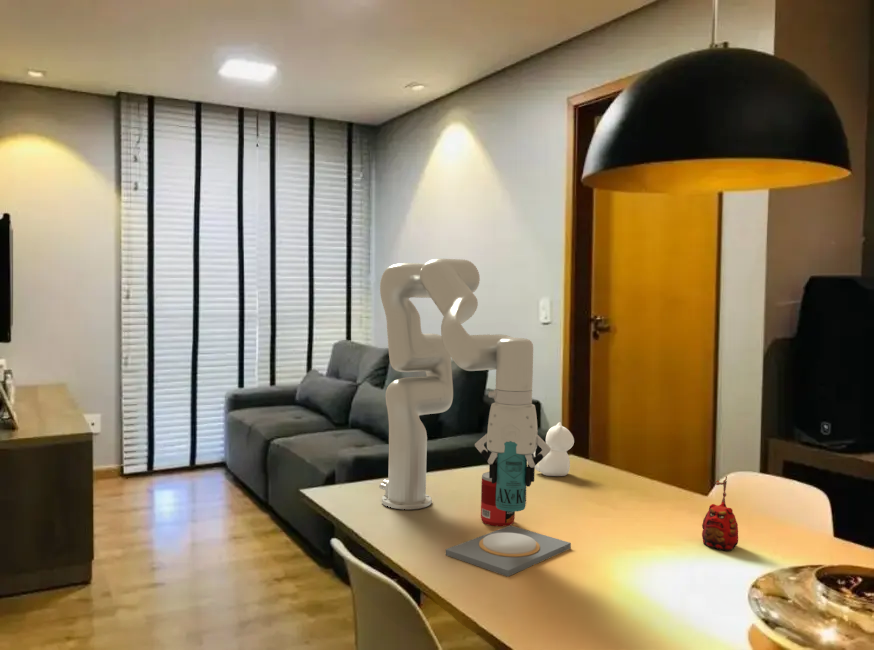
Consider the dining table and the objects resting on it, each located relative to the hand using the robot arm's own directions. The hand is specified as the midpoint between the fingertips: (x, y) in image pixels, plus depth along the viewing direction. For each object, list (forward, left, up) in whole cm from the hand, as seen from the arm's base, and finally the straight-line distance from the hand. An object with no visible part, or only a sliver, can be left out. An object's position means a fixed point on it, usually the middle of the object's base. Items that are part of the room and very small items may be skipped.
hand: (511, 482), depth 161 cm
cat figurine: (-30, +60, -15) cm, 69 cm away
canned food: (-14, +14, -15) cm, 25 cm away
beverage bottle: (0, 0, -7) cm, 7 cm away
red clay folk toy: (+30, +36, -15) cm, 49 cm away
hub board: (0, 0, -15) cm, 15 cm away
